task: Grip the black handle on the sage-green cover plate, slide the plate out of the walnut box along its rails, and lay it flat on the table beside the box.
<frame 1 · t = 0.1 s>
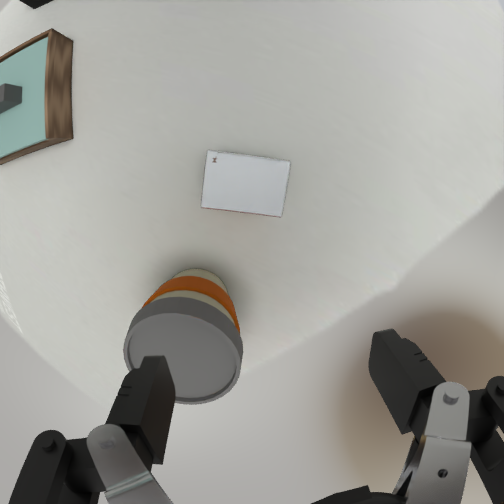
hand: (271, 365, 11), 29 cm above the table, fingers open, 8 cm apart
walnut box: (31, 103, 31), on the table
small box: (242, 176, 37), on the table
cover plate: (12, 102, 26), point 5 cm above the table, touching walnut box
reusable coffee cup: (197, 297, 42), on the table
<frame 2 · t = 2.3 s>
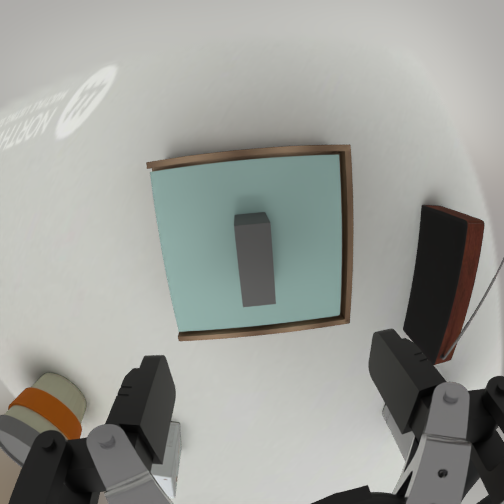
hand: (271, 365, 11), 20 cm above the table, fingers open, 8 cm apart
walnut box: (254, 231, 30), on the table
small box: (164, 432, 40), on the table
radio: (423, 262, 32), on the table
cover plate: (252, 246, 25), point 5 cm above the table, touching walnut box
reusable coffee cup: (63, 392, 37), on the table
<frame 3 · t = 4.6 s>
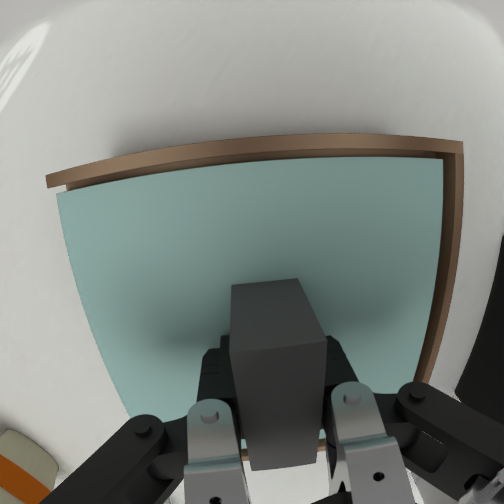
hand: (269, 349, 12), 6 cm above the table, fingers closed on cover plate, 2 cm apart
walnut box: (266, 286, 17), on the table
radio: (492, 311, 20), on the table
cover plate: (267, 335, 13), point 5 cm above the table, touching gripper, walnut box
reusable coffee cup: (31, 450, 24), on the table
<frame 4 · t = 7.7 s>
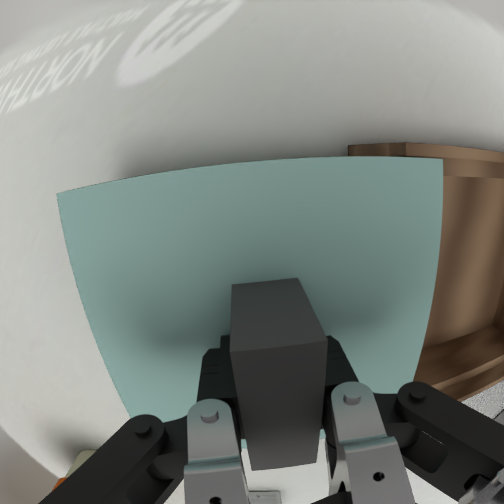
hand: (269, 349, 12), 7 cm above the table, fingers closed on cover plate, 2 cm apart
walnut box: (447, 261, 18), on the table
small box: (253, 500, 28), on the table
cover plate: (267, 334, 13), point 6 cm above the table, touching gripper
reusable coffee cup: (113, 469, 25), on the table
when the fingers open (2 cm above the table, at t = 10.6 s): cover plate drops 1 cm, on the table.
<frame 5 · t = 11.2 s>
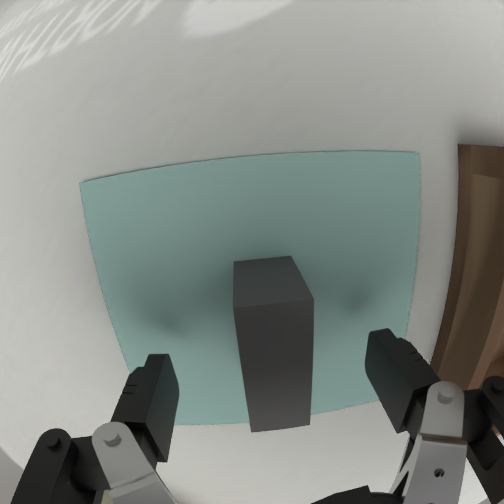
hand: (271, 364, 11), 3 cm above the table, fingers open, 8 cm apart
cover plate: (265, 310, 14), on the table
reusable coffee cup: (139, 501, 21), on the table
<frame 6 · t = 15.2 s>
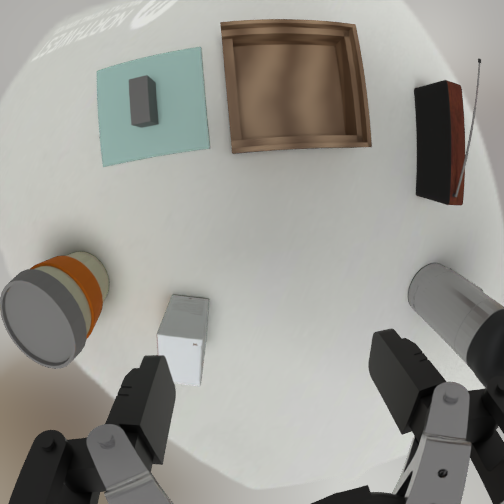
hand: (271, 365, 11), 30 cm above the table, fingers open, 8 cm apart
walnut box: (289, 90, 34), on the table
small box: (190, 318, 44), on the table
radio: (423, 135, 37), on the table
cover plate: (150, 105, 35), on the table
reusable coffee cup: (85, 278, 41), on the table
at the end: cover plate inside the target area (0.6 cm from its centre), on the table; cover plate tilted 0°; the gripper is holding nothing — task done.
